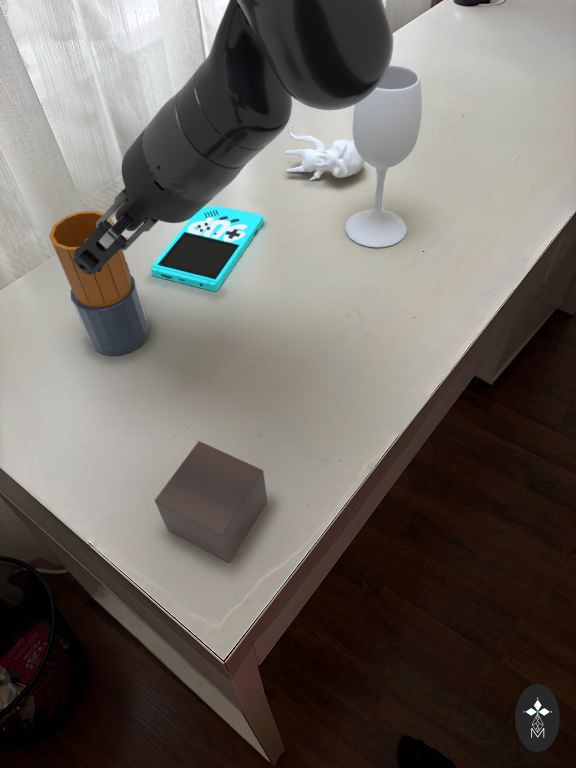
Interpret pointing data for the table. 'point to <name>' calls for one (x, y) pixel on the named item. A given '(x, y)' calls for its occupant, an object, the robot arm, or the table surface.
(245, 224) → the handheld game console
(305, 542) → the table surface
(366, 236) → the wineglass
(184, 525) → the block
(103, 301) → the orange hollow slatted cylinder
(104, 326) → the mug
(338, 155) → the figurine
